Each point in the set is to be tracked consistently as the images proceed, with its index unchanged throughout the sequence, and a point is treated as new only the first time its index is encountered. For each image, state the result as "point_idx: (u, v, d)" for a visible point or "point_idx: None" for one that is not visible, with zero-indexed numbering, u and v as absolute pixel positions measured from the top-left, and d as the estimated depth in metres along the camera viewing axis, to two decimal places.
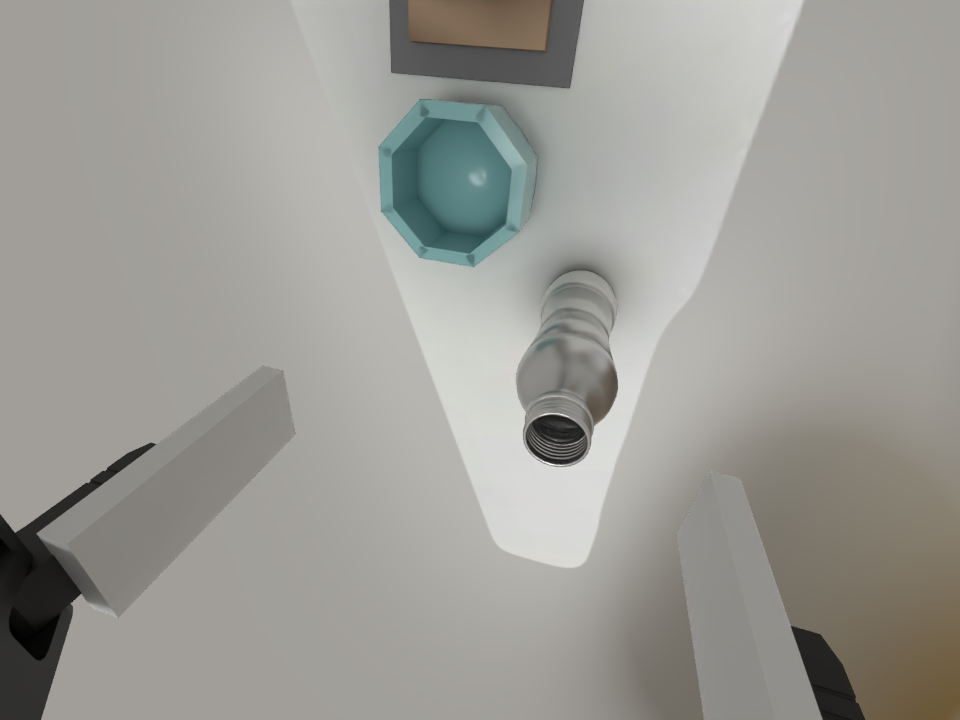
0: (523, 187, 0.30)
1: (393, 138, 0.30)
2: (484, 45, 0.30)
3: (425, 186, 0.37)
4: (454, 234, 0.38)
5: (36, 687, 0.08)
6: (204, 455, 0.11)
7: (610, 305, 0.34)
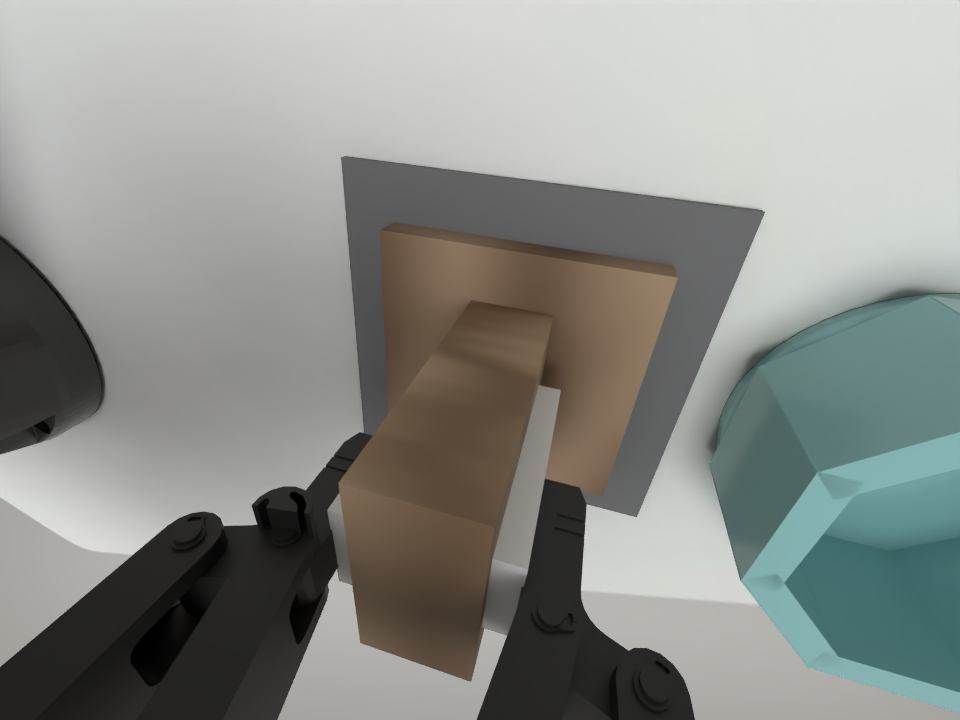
0: None
1: (802, 642, 0.13)
2: (638, 388, 0.16)
3: (873, 533, 0.16)
4: None
5: (289, 671, 0.09)
6: None
7: None
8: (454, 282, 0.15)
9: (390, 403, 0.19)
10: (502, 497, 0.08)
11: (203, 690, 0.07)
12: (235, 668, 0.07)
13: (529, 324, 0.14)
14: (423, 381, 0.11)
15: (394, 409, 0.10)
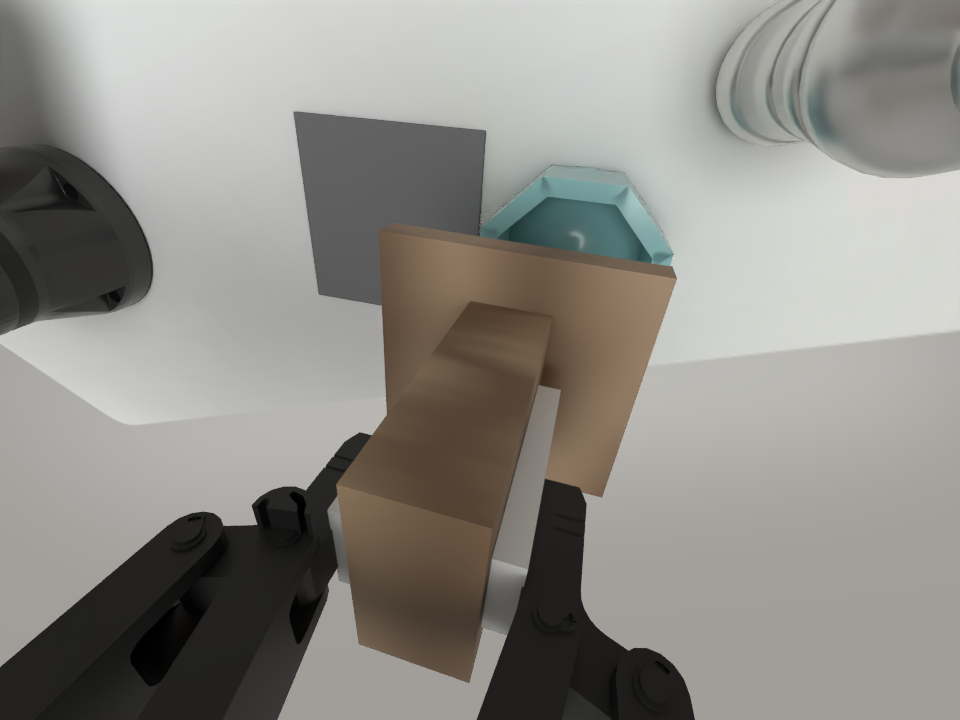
0: (569, 180, 0.23)
1: None
2: (637, 389, 0.16)
3: None
4: None
5: (289, 671, 0.09)
6: None
7: (789, 5, 0.19)
8: (453, 282, 0.15)
9: (389, 403, 0.19)
10: (500, 498, 0.08)
11: (203, 690, 0.07)
12: (235, 668, 0.07)
13: (528, 325, 0.14)
14: (421, 382, 0.11)
15: (393, 410, 0.10)
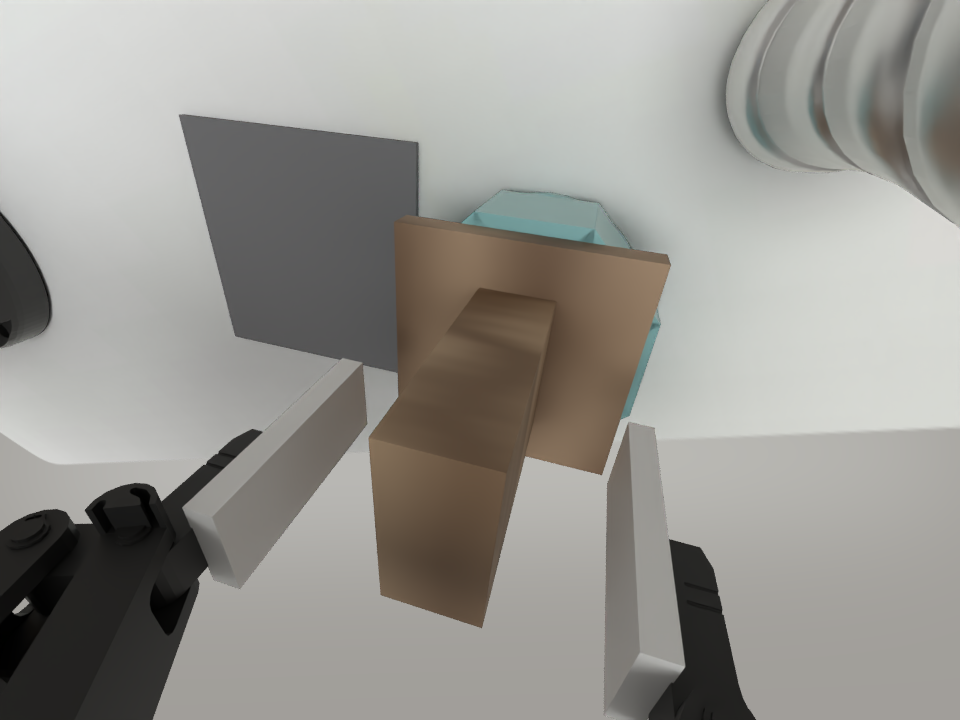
0: (511, 218, 0.16)
1: None
2: (634, 370, 0.17)
3: None
4: None
5: (162, 662, 0.09)
6: (304, 441, 0.12)
7: None
8: (463, 270, 0.16)
9: (401, 387, 0.20)
10: (512, 450, 0.09)
11: (53, 690, 0.06)
12: (89, 661, 0.07)
13: (533, 309, 0.15)
14: (438, 356, 0.12)
15: (413, 379, 0.11)
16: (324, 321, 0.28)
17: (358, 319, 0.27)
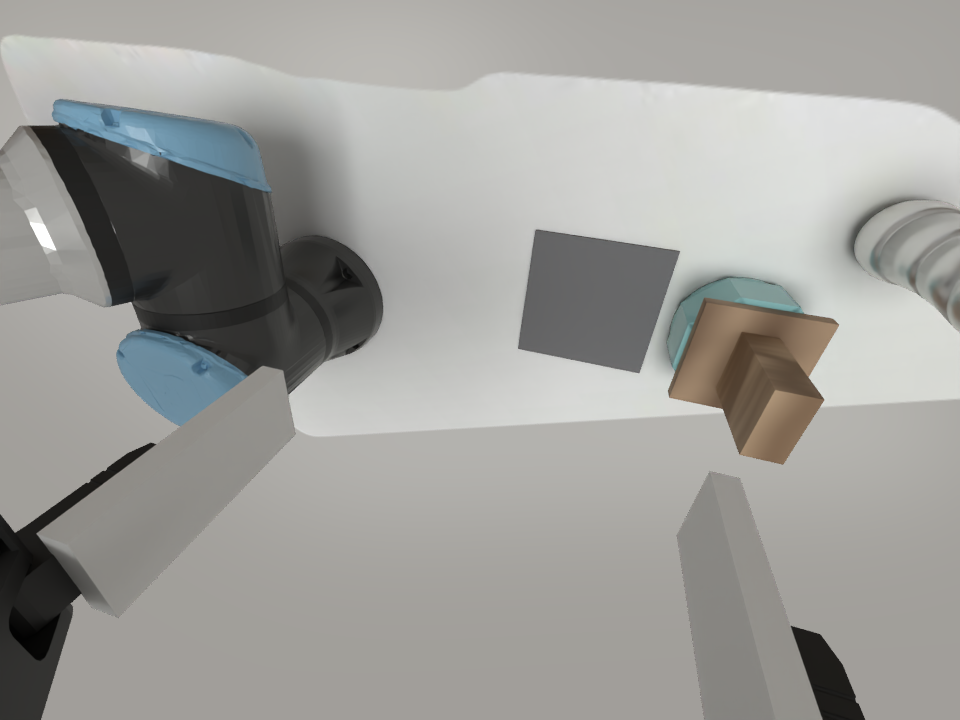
0: (759, 300, 0.36)
1: None
2: (811, 369, 0.36)
3: None
4: None
5: (36, 688, 0.08)
6: (203, 456, 0.11)
7: (918, 215, 0.31)
8: (736, 324, 0.36)
9: (678, 377, 0.40)
10: (819, 394, 0.29)
11: None
12: None
13: (775, 342, 0.35)
14: (763, 363, 0.32)
15: (763, 372, 0.31)
16: (587, 340, 0.48)
17: (611, 339, 0.47)
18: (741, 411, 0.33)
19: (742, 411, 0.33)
